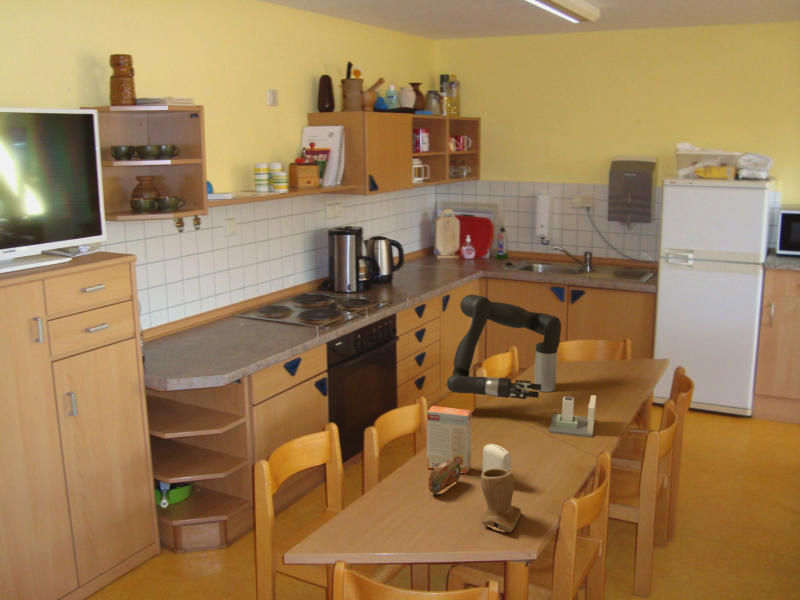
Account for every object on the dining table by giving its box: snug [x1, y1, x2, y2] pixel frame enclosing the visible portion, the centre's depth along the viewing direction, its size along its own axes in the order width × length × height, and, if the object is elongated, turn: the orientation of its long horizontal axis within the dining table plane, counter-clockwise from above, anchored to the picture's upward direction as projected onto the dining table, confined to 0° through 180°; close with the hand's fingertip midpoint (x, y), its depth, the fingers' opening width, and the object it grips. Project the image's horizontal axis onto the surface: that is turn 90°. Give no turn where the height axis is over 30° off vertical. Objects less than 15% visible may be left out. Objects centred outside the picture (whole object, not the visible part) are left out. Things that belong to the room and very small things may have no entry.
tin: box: [428, 460, 461, 495], centre depth 247 cm, size 15×3×8 cm, turn 143°
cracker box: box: [426, 405, 473, 474], centre depth 260 cm, size 14×6×21 cm, turn 71°
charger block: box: [561, 395, 575, 422], centre depth 298 cm, size 4×4×11 cm
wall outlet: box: [548, 394, 597, 438], centre depth 298 cm, size 18×16×11 cm
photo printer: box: [482, 443, 512, 473], centre depth 252 cm, size 10×4×12 cm, turn 39°
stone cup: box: [480, 468, 522, 533], centre depth 227 cm, size 15×12×15 cm
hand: (539, 390), depth 300 cm, fingers open, 8 cm apart
